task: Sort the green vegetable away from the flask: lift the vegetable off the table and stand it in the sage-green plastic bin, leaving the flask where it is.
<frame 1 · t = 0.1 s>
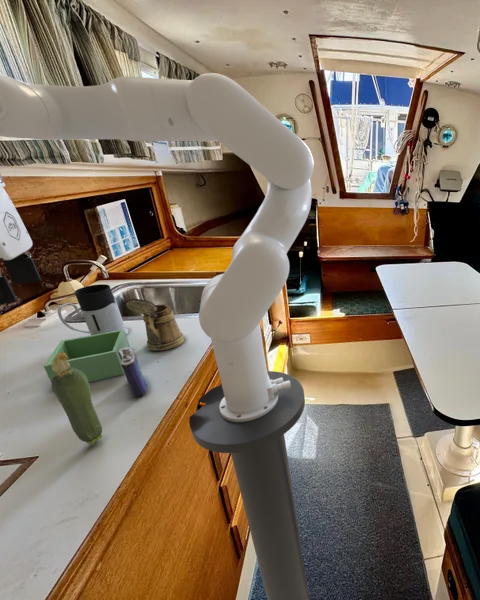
hand: (15, 292, 51), 30 cm above the worktop, tool pointing down, fingers open, 9 cm apart
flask: (139, 387, 76), on the worktop
vegetable: (97, 440, 62), on the worktop
veg bin: (97, 368, 82), on the worktop
travel mug: (101, 340, 95), on the worktop
wooden mug: (163, 348, 92), on the worktop
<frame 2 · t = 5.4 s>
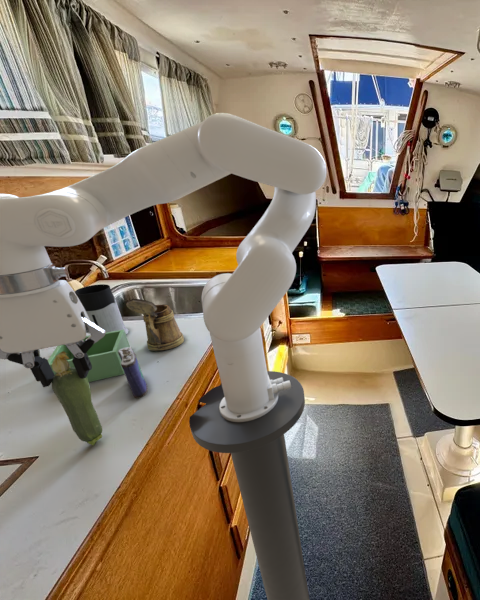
hand: (67, 377, 56), 15 cm above the worktop, tool pointing down, fingers closed on vegetable, 4 cm apart
vegetable: (97, 440, 62), on the worktop, touching gripper
everything else where it was.
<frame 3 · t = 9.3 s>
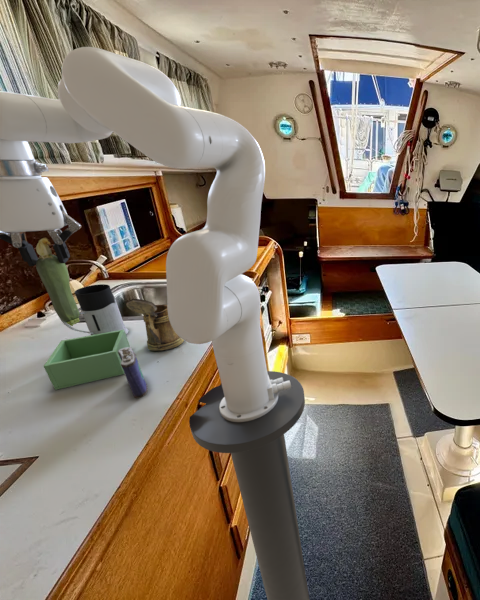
hand: (49, 262, 68), 29 cm above the worktop, tool pointing down, fingers closed on vegetable, 4 cm apart
vegetable: (75, 324, 74), point 14 cm above the worktop, touching gripper
everything else where it was.
when the fingers open (15 cm above the worktop, at t = 13.0 s): vegetable stays where it is, resting on veg bin.
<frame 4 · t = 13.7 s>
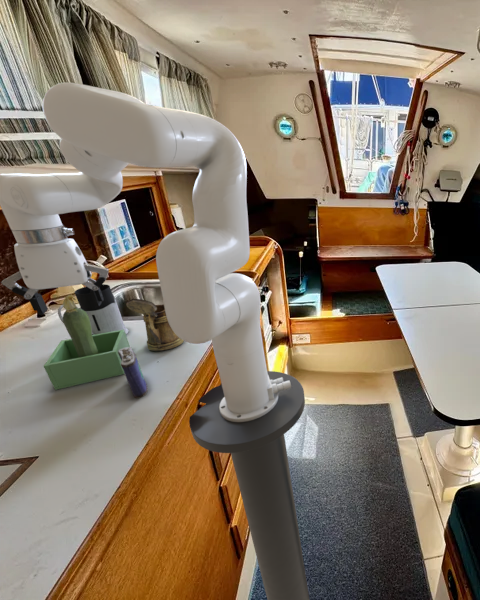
hand: (72, 308, 75), 17 cm above the worktop, tool pointing down, fingers open, 9 cm apart
vegetable: (96, 366, 82), resting on veg bin
everything else where it was.
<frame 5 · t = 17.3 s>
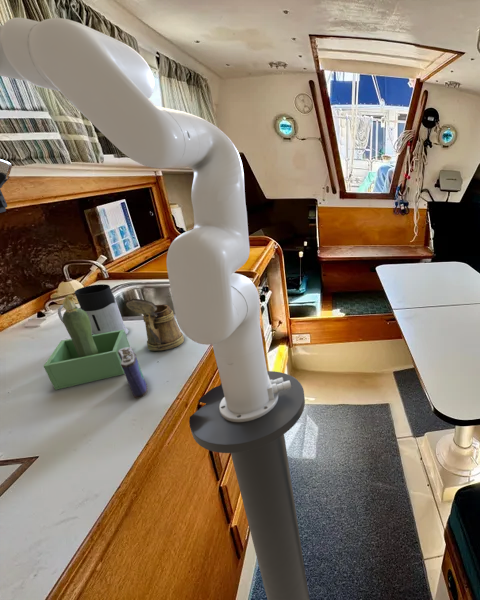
nothing on the worktop moved.
at the end: vegetable inside the target area in the veg bin (0.1 cm from its centre), point 0.4 cm above the veg bin's base; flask moved 0.2 cm from its start; the gripper is holding nothing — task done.
